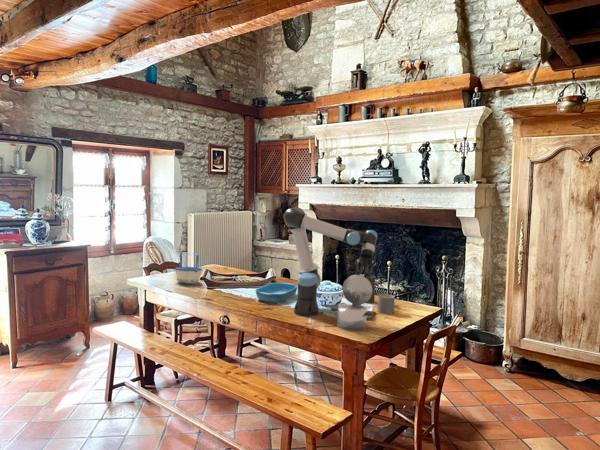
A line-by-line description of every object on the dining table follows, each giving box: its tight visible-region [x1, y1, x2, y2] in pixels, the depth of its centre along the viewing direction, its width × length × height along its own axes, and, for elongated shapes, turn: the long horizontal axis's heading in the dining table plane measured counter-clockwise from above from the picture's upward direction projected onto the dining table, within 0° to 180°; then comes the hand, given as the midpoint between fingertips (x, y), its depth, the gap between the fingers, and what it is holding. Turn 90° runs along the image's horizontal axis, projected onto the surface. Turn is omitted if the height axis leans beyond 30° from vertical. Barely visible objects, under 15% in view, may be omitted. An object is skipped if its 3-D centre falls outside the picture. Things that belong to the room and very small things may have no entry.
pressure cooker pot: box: [330, 304, 375, 332], centre depth 231 cm, size 23×16×10 cm
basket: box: [174, 251, 203, 285], centre depth 330 cm, size 21×16×24 cm
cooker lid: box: [342, 274, 372, 306], centre depth 239 cm, size 17×18×4 cm
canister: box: [362, 274, 377, 304], centre depth 288 cm, size 11×10×20 cm
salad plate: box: [336, 303, 374, 319], centre depth 256 cm, size 21×21×3 cm
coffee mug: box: [377, 293, 395, 315], centre depth 265 cm, size 13×10×10 cm
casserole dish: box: [254, 282, 298, 303], centre depth 292 cm, size 37×22×7 cm, turn 157°
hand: (360, 284), depth 240 cm, fingers closed
